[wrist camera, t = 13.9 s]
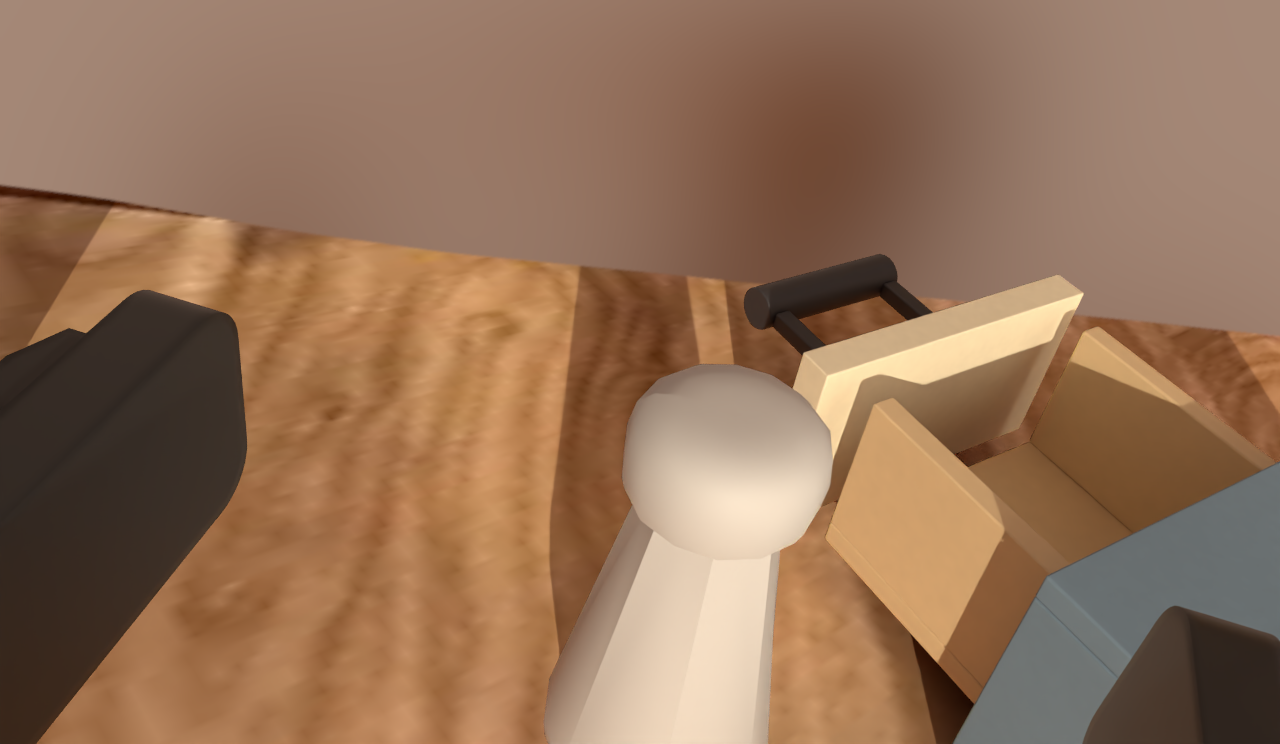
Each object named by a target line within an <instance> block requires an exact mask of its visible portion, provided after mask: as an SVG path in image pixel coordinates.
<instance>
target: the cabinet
mask: <svg viewBox="0 0 1280 744" xmlns="http://www.w3.org/2000/svg"><path fill="white" fill-rule="evenodd" d="M1172 606H1180V607H1184V608H1187V609H1190V610H1193V611H1197V612H1200V613H1203V614H1207V615H1210V616H1213V617H1216V618H1220V619H1223V620H1226V621H1230V622H1233V623H1236V624H1240V625H1243V626H1246V627H1249V628H1253V629H1256V630H1259V631H1263V632H1266V633H1269V634H1272V635H1274V636H1275V637H1277V638H1278V639H1279V641H1280V461H1279V462H1277V463H1275V464H1273V465H1271V466H1269V467H1267V468H1265V469H1263V470H1261V471H1259V472H1257V473H1255V474H1253V475H1251V476H1249V477H1247V478H1245V479H1243V480H1241V481H1239V482H1237V483H1235V484H1233V485H1231V486H1229V487H1226V488H1224V489H1222V490H1220V491H1218V492H1216V493H1214V494H1212V495H1210V496H1208V497H1206V498H1204V499H1202V500H1200V501H1198V502H1196V503H1194V504H1192V505H1190V506H1188V507H1186V508H1184V509H1182V510H1180V511H1178V512H1176V513H1173V514H1171V515H1169V516H1167V517H1165V518H1163V519H1161V520H1159V521H1157V522H1155V523H1153V524H1151V525H1149V526H1147V527H1145V528H1143V529H1141V530H1139V531H1137V532H1135V533H1133V534H1131V535H1129V536H1127V537H1125V538H1123V539H1120V540H1118V541H1116V542H1114V543H1112V544H1110V545H1108V546H1106V547H1104V548H1102V549H1100V550H1098V551H1096V552H1094V553H1092V554H1090V555H1088V556H1086V557H1084V558H1082V559H1080V560H1078V561H1076V562H1074V563H1072V564H1070V565H1067V566H1065V567H1063V568H1061V569H1059V570H1057V571H1055V572H1053V573H1051V574H1049V575H1047V576H1046V577H1045V579H1044V581H1043V583H1042V584H1041V586H1040V588H1039V590H1038V592H1037V593H1036V597H1034V599H1033V600H1032V602H1031V604H1030V606H1029V608H1028V609H1027V611H1026V613H1025V615H1024V617H1023V618H1022V620H1021V622H1020V624H1019V625H1018V627H1017V629H1016V631H1015V633H1014V634H1013V636H1012V638H1011V640H1010V641H1009V643H1008V645H1007V647H1006V649H1005V650H1004V652H1003V654H1002V656H1001V657H1000V659H999V661H998V663H997V665H996V666H995V668H994V670H993V672H992V674H991V675H990V677H989V679H988V681H987V682H986V684H985V686H984V688H983V690H982V691H981V693H980V695H979V697H978V698H977V700H976V702H975V704H974V706H973V707H972V709H971V711H970V713H969V714H968V716H967V718H966V720H965V722H964V723H963V725H962V727H961V729H960V731H959V732H958V734H957V736H956V738H955V739H954V741H953V743H952V744H1082V743H1083V740H1084V737H1085V734H1086V731H1087V729H1088V726H1089V724H1090V722H1091V720H1092V718H1093V716H1094V714H1095V713H1096V711H1097V709H1098V708H1099V706H1100V705H1101V703H1102V702H1103V700H1104V699H1105V697H1106V696H1107V694H1108V693H1109V691H1110V690H1111V688H1112V687H1113V685H1114V684H1115V682H1116V681H1117V679H1118V678H1119V676H1120V675H1121V673H1122V672H1123V670H1124V669H1125V667H1126V666H1127V664H1128V663H1129V661H1130V660H1131V658H1132V657H1133V655H1134V654H1135V652H1136V651H1137V649H1138V648H1139V646H1140V645H1141V643H1142V642H1143V640H1144V639H1145V637H1146V636H1147V634H1148V633H1149V631H1150V630H1151V628H1152V627H1153V625H1154V624H1155V622H1156V621H1157V620H1158V618H1159V617H1160V616H1161V614H1162V613H1163V612H1164V611H1165V610H1167V609H1168V608H1170V607H1172Z"/></svg>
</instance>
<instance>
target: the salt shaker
mask: <svg viewBox="0 0 1280 744" xmlns="http://www.w3.org/2000/svg"><path fill="white" fill-rule="evenodd" d="M832 464H833V458H832V445H831V433H830V430H829V428H828V427H827V426H826V424H825V423H824V422H823V420H822V419H821V418H820V416H819V415H818V414H817V412H816V411H815V410H814V408H813V407H812V405H811V404H810V403H809V402H808V401H807V400H806V399H805V398H804V397H803V396H802V395H801V394H800V393H798V392H797V391H795V390H794V389H792V388H791V387H789V386H788V385H786V384H785V383H783V382H782V381H780V380H779V379H777V378H776V377H774V376H773V375H770V374H767V373H763V372H760V371H757V370H753V369H750V368H746V367H743V366H740V365H727V364H700V365H696V366H693V367H690V368H687V369H684V370H682V371H679V372H676V373H673V374H670V375H668V376H665V377H662V378H659V379H658V380H657V381H656V382H655V383H654V384H653V385H652V386H651V387H650V388H649V389H648V390H647V392H646V393H645V394H644V395H643V396H642V397H641V398H640V399H639V400H638V401H637V403H636V405H635V407H634V409H633V412H632V414H631V416H630V418H629V421H628V423H627V430H626V438H625V445H624V457H623V469H622V481H623V485H624V489H625V491H626V493H627V495H628V497H629V499H630V501H631V503H632V507H631V509H630V511H629V513H628V515H627V517H626V519H625V521H624V523H623V525H622V527H621V530H620V532H619V534H618V536H617V538H616V540H615V542H614V544H613V546H612V548H611V551H610V553H609V555H608V557H607V559H606V561H605V563H604V565H603V567H602V569H601V571H600V574H599V576H598V578H597V580H596V582H595V584H594V586H593V588H592V590H591V592H590V594H589V597H588V599H587V601H586V603H585V605H584V607H583V609H582V611H581V613H580V615H579V617H578V620H577V622H576V624H575V626H574V628H573V630H572V632H571V634H570V636H569V638H568V640H567V643H566V645H565V647H564V649H563V651H562V653H561V655H560V657H559V659H558V661H557V664H556V666H555V668H554V670H553V672H552V674H551V676H550V679H549V686H548V694H547V701H546V708H545V716H544V734H545V737H546V739H547V742H548V744H768V729H769V708H770V687H771V667H772V646H773V631H774V619H775V607H776V595H777V583H778V570H779V558H780V550H781V549H783V548H785V547H788V546H790V545H792V544H794V543H796V542H797V541H798V540H799V539H800V538H801V537H802V536H803V535H804V533H805V532H806V530H807V528H808V527H809V525H810V523H811V522H812V520H813V518H814V517H815V515H816V514H817V512H818V510H819V509H820V507H821V505H822V503H823V500H824V498H825V496H826V494H827V492H828V489H829V487H830V482H831V473H832Z"/></svg>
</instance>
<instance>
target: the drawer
mask: <svg viewBox="0 0 1280 744" xmlns="http://www.w3.org/2000/svg"><path fill="white" fill-rule="evenodd" d="M1083 294H1084V293H1083V292H1082V291H1080V290H1079V289H1078V288H1076V287H1075V286H1074V285H1072V284H1071V283H1070V282H1068V281H1067V280H1066V279H1064V278H1063V277H1062V276H1060V275H1055V276H1051V277H1048V278H1045V279H1041V280H1038V281H1035V282H1032V283H1028V284H1025V285H1022V286H1019V287H1015V288H1012V289H1009V290H1006V291H1002V292H999V293H996V294H993V295H989V296H986V297H983V298H979V299H976V300H973V301H970V302H966V303H963V304H960V305H957V306H953V307H950V308H947V309H944V310H940V311H937V312H934V313H933V312H932V311H930V310H929V309H928V308H927V307H926V306H925V305H923V304H922V303H921V302H920V301H919V300H918V299H916V298H915V297H914V296H913V295H912V294H910V293H909V292H908V291H907V290H906V289H905V288H903V287H902V286H901V285H900V284H899V283H897V271H896V268H895V265H894V263H893V262H892V261H891V260H890V258H888V257H887V256H885V255H881V254H878V255H874V256H870V257H866V258H863V259H859V260H855V261H851V262H847V263H844V264H840V265H836V266H832V267H829V268H825V269H821V270H818V271H813V272H810V273H806V274H802V275H799V276H795V277H791V278H787V279H783V280H780V281H776V282H772V283H768V284H764V285H761V286H757V287H753V288H751V289H749V290H748V291H747V293H746V295H745V298H744V309H745V313H746V316H747V318H748V320H749V322H750V323H751V324H752V325H753V326H754V327H755V328H757V329H760V330H763V329H767V328H770V327H774V328H775V329H776V330H777V331H778V332H779V333H780V334H781V335H782V336H783V337H784V338H785V339H786V340H787V341H788V342H789V343H790V344H791V345H792V346H793V347H794V348H795V349H796V350H797V351H798V352H799V353H800V354H801V355H802V359H801V362H800V366H799V369H798V372H797V375H796V379H795V382H794V385H793V388H792V389H794V390H795V391H797V392H798V393H800V394H801V395H802V396H803V397H804V398H805V399H806V400H807V401H808V402H809V403H810V404H811V405H812V407H813V408H814V410H815V411H816V412H817V414H818V415H819V416H820V418H821V419H822V420H823V422H824V423H825V424H826V426H827V427H828V428H829V430H830V433H831V445H832V458H833V464H832V473H831V482H830V487H829V489H828V492H827V494H826V496H825V498H824V500H823V503H822V505H821V507H822V506H824V505H827V504H829V503H832V502H834V501H837V500H838V503H837V505H836V508H835V511H834V514H833V516H832V519H831V523H830V525H829V527H828V530H827V533H826V536H825V539H826V540H827V542H828V543H829V544H830V545H831V546H832V547H833V548H834V549H835V550H836V552H837V553H838V554H839V555H840V556H841V557H842V558H843V559H844V560H845V561H846V563H847V564H848V565H849V566H850V567H851V568H852V569H853V570H854V571H855V573H856V574H857V575H858V576H859V577H860V578H861V579H862V580H863V581H864V583H865V584H866V585H867V586H868V587H869V588H870V589H871V590H872V591H873V593H874V594H875V595H876V596H877V597H878V598H879V599H880V600H881V601H882V602H883V604H884V605H885V606H886V607H887V608H888V609H889V610H890V611H891V612H892V614H893V615H894V616H895V617H896V618H897V619H898V620H899V621H900V622H901V624H902V625H903V626H904V627H905V628H906V629H907V630H908V631H909V632H910V634H911V635H912V636H913V637H914V638H915V639H916V640H917V641H918V642H919V643H920V645H921V646H922V647H923V648H924V649H925V650H926V651H927V652H928V653H929V655H930V656H931V657H932V658H933V659H934V660H935V661H936V662H937V663H938V665H939V666H940V667H941V668H942V669H943V670H944V671H945V672H946V673H947V674H948V676H949V677H950V678H951V679H952V680H953V681H954V682H955V683H956V684H957V686H958V687H959V688H960V689H961V690H962V691H963V692H964V693H965V694H966V696H967V697H968V698H969V699H970V700H971V701H972V702H973V703H974V704H975V702H976V700H977V698H978V697H979V695H980V693H981V691H982V690H983V688H984V686H985V684H986V682H987V681H988V679H989V677H990V675H991V674H992V672H993V670H994V668H995V666H996V665H997V663H998V661H999V659H1000V657H1001V656H1002V654H1003V652H1004V650H1005V649H1006V647H1007V645H1008V643H1009V641H1010V640H1011V638H1012V636H1013V634H1014V633H1015V631H1016V629H1017V627H1018V625H1019V624H1020V622H1021V620H1022V618H1023V617H1024V615H1025V613H1026V611H1027V609H1028V608H1029V606H1030V604H1031V602H1032V600H1033V599H1034V597H1036V593H1037V592H1038V590H1039V588H1040V586H1041V584H1042V583H1043V581H1044V579H1045V577H1046V576H1047V575H1049V574H1051V573H1053V572H1055V571H1057V570H1059V569H1061V568H1063V567H1065V566H1067V565H1070V564H1072V563H1074V562H1076V561H1078V560H1080V559H1082V558H1084V557H1086V556H1088V555H1090V554H1092V553H1094V552H1096V551H1098V550H1100V549H1102V548H1104V547H1106V546H1108V545H1110V544H1112V543H1114V542H1116V541H1118V540H1120V539H1123V538H1125V537H1127V536H1129V535H1131V534H1133V533H1135V532H1137V531H1139V530H1141V529H1143V528H1145V527H1147V526H1149V525H1151V524H1153V523H1155V522H1157V521H1159V520H1161V519H1163V518H1165V517H1167V516H1169V515H1171V514H1173V513H1176V512H1178V511H1180V510H1182V509H1184V508H1186V507H1188V506H1190V505H1192V504H1194V503H1196V502H1198V501H1200V500H1202V499H1204V498H1206V497H1208V496H1210V495H1212V494H1214V493H1216V492H1218V491H1220V490H1222V489H1224V488H1226V487H1229V486H1231V485H1233V484H1235V483H1237V482H1239V481H1241V480H1243V479H1245V478H1247V477H1249V476H1251V475H1253V474H1255V473H1257V472H1259V471H1261V470H1263V469H1265V468H1267V467H1269V466H1271V465H1273V464H1275V463H1277V462H1275V461H1274V460H1273V459H1271V458H1270V457H1269V456H1268V455H1266V454H1265V453H1264V452H1262V451H1261V450H1260V449H1258V448H1257V447H1256V446H1254V445H1253V444H1252V443H1251V442H1249V441H1248V440H1247V439H1245V438H1244V437H1243V436H1241V435H1240V434H1239V433H1237V432H1236V431H1235V430H1234V429H1232V428H1231V427H1230V426H1228V425H1227V424H1226V423H1224V422H1223V421H1222V420H1220V419H1219V418H1218V417H1217V416H1215V415H1214V414H1213V413H1211V412H1210V411H1209V410H1207V409H1206V408H1205V407H1203V406H1202V405H1201V404H1200V403H1198V402H1197V401H1196V400H1194V399H1193V398H1192V397H1190V396H1189V395H1188V394H1186V393H1185V392H1184V391H1183V390H1181V389H1180V388H1179V387H1177V386H1176V385H1175V384H1173V383H1172V382H1171V381H1169V380H1168V379H1167V378H1166V377H1164V376H1163V375H1162V374H1160V373H1159V372H1158V371H1156V370H1155V369H1154V368H1152V367H1151V366H1150V365H1149V364H1147V363H1146V362H1145V361H1143V360H1142V359H1141V358H1139V357H1138V356H1137V355H1135V354H1134V353H1133V352H1132V351H1130V350H1129V349H1128V348H1126V347H1125V346H1124V345H1122V344H1121V343H1120V342H1118V341H1117V340H1116V339H1115V338H1113V337H1112V336H1111V335H1109V334H1108V333H1107V332H1105V331H1104V330H1103V329H1101V328H1100V327H1094V328H1091V329H1088V330H1086V331H1084V332H1083V333H1082V335H1081V337H1080V339H1079V341H1078V343H1077V345H1076V347H1075V349H1074V351H1073V353H1072V355H1071V357H1070V359H1069V361H1068V363H1067V366H1066V368H1065V370H1064V372H1063V374H1062V376H1061V378H1060V380H1059V382H1058V384H1057V386H1056V388H1055V390H1054V392H1053V394H1052V396H1051V398H1050V400H1049V402H1048V404H1047V406H1046V408H1045V410H1044V412H1043V414H1042V416H1041V418H1040V420H1039V422H1038V424H1037V426H1036V428H1035V430H1034V432H1033V434H1032V437H1031V439H1030V442H1028V443H1025V444H1023V445H1020V446H1018V447H1016V448H1013V449H1011V450H1008V451H1006V452H1003V453H1001V454H998V455H996V456H993V457H991V458H988V459H986V460H983V461H981V462H978V463H976V464H973V465H971V466H968V467H967V466H966V465H964V464H963V463H962V462H961V461H960V460H959V459H958V458H957V457H956V456H955V455H954V454H956V453H959V452H961V451H964V450H966V449H969V448H972V447H974V446H977V445H979V444H982V443H984V442H987V441H989V440H992V439H994V438H997V437H1000V436H1002V435H1005V434H1007V433H1010V432H1012V431H1015V430H1017V429H1019V428H1020V426H1021V423H1022V421H1023V419H1024V417H1025V415H1026V413H1027V411H1028V409H1029V407H1030V405H1031V403H1032V401H1033V398H1034V396H1035V394H1036V392H1037V390H1038V388H1039V386H1040V384H1041V382H1042V380H1043V378H1044V376H1045V374H1046V371H1047V369H1048V367H1049V365H1050V363H1051V361H1052V359H1053V357H1054V355H1055V353H1056V351H1057V349H1058V347H1059V344H1060V342H1061V340H1062V338H1063V336H1064V334H1065V332H1066V330H1067V328H1068V326H1069V324H1070V322H1071V319H1072V317H1073V315H1074V313H1075V311H1076V309H1077V306H1078V305H1079V303H1080V301H1081V298H1082V297H1083ZM878 296H880V297H881V298H883V299H884V300H885V301H886V302H887V303H888V304H889V305H891V306H892V307H893V308H894V309H895V310H896V311H897V312H899V313H900V314H901V315H902V316H903V317H904V318H905V319H907V320H908V321H905V322H901V323H898V324H895V325H892V326H888V327H885V328H882V329H879V330H875V331H872V332H869V333H865V334H862V335H859V336H856V337H852V338H849V339H846V340H843V341H839V342H836V343H833V344H830V345H825V344H824V343H823V342H822V341H821V340H820V339H818V338H817V337H816V336H815V335H814V334H813V333H812V332H811V331H810V330H809V329H808V328H807V327H806V326H805V325H804V324H803V323H802V322H801V321H800V320H798V319H801V318H805V317H808V316H812V315H815V314H819V313H822V312H826V311H829V310H833V309H836V308H840V307H843V306H847V305H850V304H853V303H857V302H860V301H864V300H867V299H871V298H874V297H878Z"/></svg>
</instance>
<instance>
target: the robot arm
mask: <svg viewBox="0 0 1280 744" xmlns="http://www.w3.org/2000/svg"><path fill="white" fill-rule="evenodd" d="M246 452H247V434H246V422H245V410H244V399H243V387H242V375H241V363H240V351H239V339H238V332H237V327H236V324H235V322H234V320H233V319H232V318H231V317H230V316H229V315H228V314H226V313H223V312H220V311H216V310H213V309H210V308H207V307H203V306H200V305H197V304H193V303H190V302H187V301H183V300H180V299H177V298H174V297H170V296H167V295H164V294H160V293H157V292H154V291H151V290H141V291H137V292H135V293H133V294H131V295H130V296H129V297H127V298H126V299H125V300H124V301H122V302H121V303H120V304H119V305H118V306H117V307H116V308H115V309H113V310H112V311H111V312H110V313H109V314H108V315H107V316H106V317H104V318H103V319H102V320H101V321H100V322H99V323H98V324H97V325H95V326H94V327H93V328H92V329H91V330H90V331H89V332H87V333H83V332H80V331H76V330H73V329H70V328H68V329H66V330H64V331H62V332H59V333H57V334H55V335H53V336H50V337H48V338H46V339H44V340H41V341H39V342H37V343H35V344H32V345H30V346H28V347H25V348H23V349H21V350H19V351H16V352H14V353H12V354H10V355H7V356H6V357H5V358H3V359H2V360H1V361H0V744H36V743H37V742H38V741H39V739H40V738H41V737H42V736H43V734H44V733H45V732H46V731H47V729H48V728H49V727H50V726H51V724H52V723H53V722H54V721H55V719H56V718H57V717H58V716H59V714H60V713H61V712H62V711H63V709H64V708H65V707H66V706H67V704H68V703H69V702H70V701H71V699H72V698H73V697H74V696H75V694H76V693H77V692H78V691H79V689H80V688H81V687H82V686H83V684H84V683H85V682H86V681H87V680H88V678H89V677H90V676H91V675H92V673H93V672H94V671H95V670H96V668H97V667H98V666H99V665H100V663H101V662H102V661H103V660H104V658H105V657H106V656H107V655H108V653H109V652H110V651H111V650H112V648H113V647H114V646H115V645H116V643H117V642H118V641H119V640H120V638H121V637H122V636H123V635H124V633H125V632H126V631H127V630H128V628H129V627H130V626H131V625H132V623H133V622H134V621H135V620H136V618H137V617H138V616H139V615H140V614H141V612H142V611H143V610H144V609H145V607H146V606H147V605H148V604H149V602H150V601H151V600H152V599H153V597H154V596H155V595H156V594H157V592H158V591H159V590H160V589H161V587H162V586H163V585H164V584H165V582H166V581H167V580H168V579H169V577H170V576H171V575H172V574H173V572H174V571H175V570H176V569H177V567H178V566H179V565H180V564H181V562H182V561H183V560H184V559H185V557H186V556H187V555H188V554H189V553H190V551H191V550H192V549H193V548H194V546H195V545H196V544H197V543H198V541H199V540H200V539H201V538H202V536H203V535H204V534H205V533H206V531H207V530H208V529H209V528H210V526H211V525H212V524H213V523H214V521H215V520H216V519H217V518H218V516H219V515H220V514H221V513H222V511H223V510H224V509H225V507H226V506H227V504H228V503H229V501H230V499H231V498H232V496H233V494H234V492H235V490H236V487H237V485H238V483H239V480H240V477H241V474H242V471H243V467H244V464H245V459H246ZM1082 744H1280V641H1279V639H1278V638H1277V637H1275V636H1274V635H1272V634H1269V633H1266V632H1263V631H1259V630H1256V629H1253V628H1249V627H1246V626H1243V625H1240V624H1236V623H1233V622H1230V621H1226V620H1223V619H1220V618H1216V617H1213V616H1210V615H1207V614H1203V613H1200V612H1197V611H1193V610H1190V609H1187V608H1184V607H1180V606H1172V607H1170V608H1168V609H1167V610H1165V611H1164V612H1163V613H1162V614H1161V616H1160V617H1159V618H1158V620H1157V621H1156V622H1155V624H1154V625H1153V627H1152V628H1151V630H1150V631H1149V633H1148V634H1147V636H1146V637H1145V639H1144V640H1143V642H1142V643H1141V645H1140V646H1139V648H1138V649H1137V651H1136V652H1135V654H1134V655H1133V657H1132V658H1131V660H1130V661H1129V663H1128V664H1127V666H1126V667H1125V669H1124V670H1123V672H1122V673H1121V675H1120V676H1119V678H1118V679H1117V681H1116V682H1115V684H1114V685H1113V687H1112V688H1111V690H1110V691H1109V693H1108V694H1107V696H1106V697H1105V699H1104V700H1103V702H1102V703H1101V705H1100V706H1099V708H1098V709H1097V711H1096V713H1095V714H1094V716H1093V718H1092V720H1091V722H1090V724H1089V726H1088V729H1087V731H1086V734H1085V737H1084V740H1083V743H1082Z"/></svg>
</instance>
